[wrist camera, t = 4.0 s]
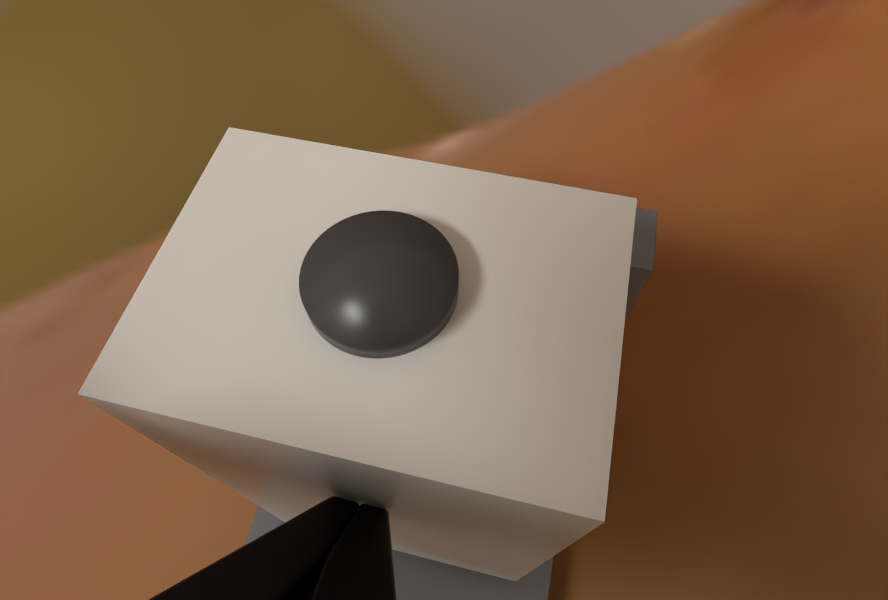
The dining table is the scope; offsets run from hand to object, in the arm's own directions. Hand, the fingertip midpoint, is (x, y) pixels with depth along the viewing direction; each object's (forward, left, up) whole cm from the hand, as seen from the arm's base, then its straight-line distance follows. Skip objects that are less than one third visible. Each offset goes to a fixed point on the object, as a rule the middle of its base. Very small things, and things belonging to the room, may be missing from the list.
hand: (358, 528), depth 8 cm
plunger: (+2, -1, -6) cm, 6 cm away
